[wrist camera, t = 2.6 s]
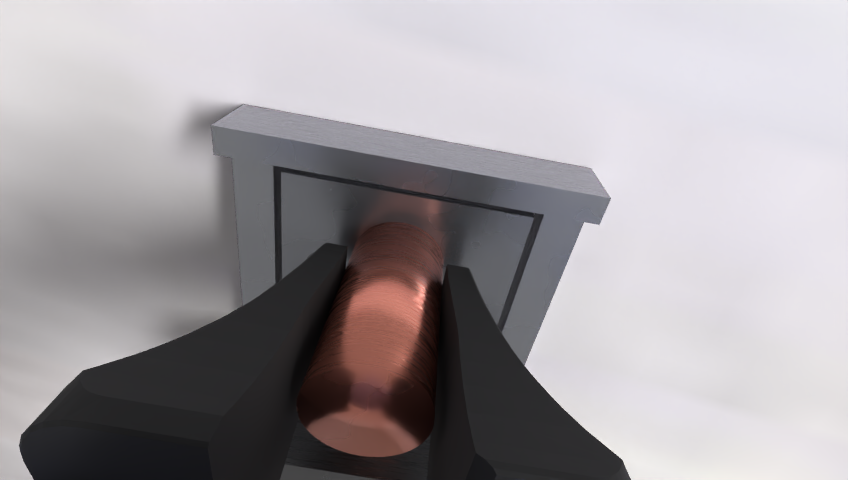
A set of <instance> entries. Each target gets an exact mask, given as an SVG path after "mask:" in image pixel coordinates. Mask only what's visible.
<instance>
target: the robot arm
mask: <svg viewBox="0 0 848 480" xmlns="http://www.w3.org/2000/svg"><path fill="white" fill-rule="evenodd" d="M347 249H348V246H343V245H337V244H332V243H325V244H323V245H322V246H321V247H320V248H319V249H317V250H316V251H315V252H314V253H313V254H312V255H311V256H309V257H308V258H307V259H306V260H305V261H304V262H302V263H301V264H300V265H299V266H298V267H297V268H295V269H294V270H293V271H291V272H290V273H289V274H288V275H286V276H285V277H284V278H283V279H281V280H280V281H279V282H277V283H276V284H275V285H273V286H272V287H270V288H269V289H267V290H266V291H265V292H263V293H262V294H260V295H259V296H258V297H256V298H255V299H253V300H251V301H250V302H248V303H247V304H245V305H243V306H242V307H240V308H238V309H237V310H235V311H233V312H232V313H230V314H228V315H226V316H224V317H223V318H221V319H219V320H216V321H214V322H212V323H210V324H208V325H206V326H204V327H202V328H200V329H198V330H196V331H193V332H191V333H189V334H187V335H185V336H182V337H180V338H177V339H175V340H173V341H170V342H168V343H165V344H163V345H160V346H157V347H155V348H152V349H149V350H147V351H144V352H141V353H138V354H135V355H132V356H129V357H126V358H123V359H119V360H116V361H113V362H110V363H107V364H103V365H100V366H97V367H94V368H90V369H87V370H83V371H82V372H81V373H80V374H79V375H78V376H77V377H76V378H75V379H74V380H73V381H72V382H71V383H69V384H68V385H67V386H66V387H65V388H64V389H63V390H62V392H61V393H60V394H59V395H58V396H57V397H56V398H55V399H54V400H53V401H52V402H51V404H50V405H49V406H48V407H47V408H46V409H45V410H44V411H43V412H42V413H41V414H40V415H39V417H38V418H37V419H36V420H35V421H34V422H33V423H32V424H31V425H30V426H29V427H28V428H27V429H26V431H25V432H24V433H23V434H22V435H21V439H20V444H19V447H20V452H21V455H22V458H23V461H24V463H25V465H26V466H27V468H28V470H29V472H30V474H31V475H32V477H33V479H34V480H280V478H281V474H282V471H283V468H284V464H285V461H286V458H287V454H288V451H289V448H290V445H291V441H292V438H293V435H294V432H295V429H296V426H297V422H298V419H299V416H298V413H297V408H296V402H297V397H298V394H299V391H300V388H301V386H302V383H303V380H304V378H305V375H306V373H307V370H308V367H309V365H310V362H311V359H312V357H313V354H314V352H315V349H316V346H317V344H318V341H319V338H320V336H321V333H322V330H323V328H324V325H325V323H326V320H327V317H328V315H329V312H330V309H331V307H332V304H333V301H334V299H335V296H336V294H337V291H338V288H339V286H340V283H341V280H342V278H343V275H344V273H345V270H346V260H347ZM427 480H631V479H630V477H629V475H628V472H627V470H626V468H625V465H624V463H623V461H622V459H621V458H619V457H618V456H617V455H616V454H614V453H613V452H612V451H611V450H610V449H608V448H607V447H606V446H605V445H603V444H602V443H601V442H600V441H599V440H597V439H596V438H595V437H594V436H593V435H591V434H590V433H589V432H588V431H586V430H585V429H584V428H583V427H582V426H581V425H580V424H579V423H578V422H577V421H576V420H575V419H573V418H572V417H571V416H570V415H569V414H568V413H567V412H566V411H565V410H564V409H563V408H562V407H561V406H560V405H559V404H558V403H557V402H556V401H555V400H554V399H553V398H552V397H551V396H550V395H549V394H548V393H547V391H546V390H545V389H544V388H543V387H542V386H541V385H540V384H539V383H538V382H537V380H536V379H535V378H534V377H533V376H532V375H531V373H530V372H529V371H528V370H527V369H526V367H525V366H524V365H523V363H522V362H521V361H520V359H519V358H518V357H517V355H516V354H515V352H514V351H513V349H512V348H511V347H510V345H509V344H508V342H507V340H506V339H505V337H504V336H503V334H502V332H501V331H500V329H499V328H498V326H497V324H496V322H495V321H494V319H493V317H492V315H491V313H490V311H489V310H488V308H487V306H486V304H485V302H484V300H483V298H482V296H481V294H480V291H479V289H478V287H477V285H476V283H475V280H474V278H473V275H472V273H471V271H470V269H469V268H467V267H462V266H456V265H450V264H447V267H446V271H445V275H444V279H443V284H442V293H441V312H440V330H439V347H438V365H437V383H436V400H435V418H434V426H433V429H432V432H431V438H430V449H429V460H428V471H427Z"/></svg>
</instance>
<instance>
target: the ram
mask: <svg viewBox="0 0 848 480" xmlns="http://www.w3.org/2000/svg"><path fill="white" fill-rule="evenodd" d="M533 220H534V216H533V213H532V212H527V211H521V210H516V209H510V208H505V207H499V206H494V205H488V204H483V203H477V202H472V201H466V200H461V199H455V198H450V197H444V196H439V195H433V194H428V193H422V192H417V191H411V190H406V189H400V188H395V187H389V186H384V185H378V184H373V183H367V182H361V181H356V180H350V179H345V178H339V177H334V176H328V175H323V174H317V173H312V172H306V171H301V170H295V169H290V168H284V169H283V170H282V172H281V227H282V279H283V278H284V277H285V276H286V275H288V274H289V273H290V272H291V271H293V270H294V269H295V268H297V267H298V266H299V265H300V264H301V263H302V262H304V261H305V260H306V259H307V258H308V257H309V256H311V255H312V254H313V253H314V252H315V251H316V250H317V249H319V248H320V247H321V246H322V245H323V244H325V243H332V244H337V245H343V246H348V249H347V260H346V270H345V273H344V275H343V278H342V280H341V283H340V286H339V288H338V291H337V294H336V296H335V299H334V301H333V304H332V307H331V309H330V312H329V315H328V317H327V320H326V323H325V325H324V328H323V330H322V333H321V336H320V338H319V341H318V344H317V346H316V349H315V352H314V354H313V357H312V359H311V362H310V365H309V367H308V370H307V373H306V375H305V378H304V380H303V383H302V386H301V388H300V391H299V394H298V397H297V402H296V408H297V413H298V416H299V419H298V422H297V426H296V429H295V432H294V435H293V438H292V441H291V445H290V448H289V451H288V454H287V458H286V461H285V464H284V468H283V471H282V474H281V478H280V480H427V471H428V460H429V449H430V438H431V432H432V429H433V426H434V418H435V400H436V383H437V365H438V347H439V330H440V312H441V293H442V284H443V279H444V275H445V271H446V267H447V264H450V265H456V266H462V267H467V268H469V269H470V271H471V273H472V275H473V278H474V280H475V283H476V285H477V287H478V289H479V291H480V294H481V296H482V298H483V300H484V302H485V304H486V306H487V308H488V310H489V311H490V313H491V315H492V317H493V319H494V321H495V322H496V324H497V325H498V322H499V319H500V316H501V313H502V310H503V307H504V304H505V301H506V298H507V296H508V293H509V290H510V287H511V284H512V281H513V278H514V275H515V272H516V269H517V266H518V264H519V261H520V258H521V255H522V252H523V249H524V246H525V243H526V240H527V237H528V234H529V232H530V229H531V226H532V223H533Z"/></svg>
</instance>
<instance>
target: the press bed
mask: <svg viewBox="0 0 848 480" xmlns="http://www.w3.org/2000/svg"><path fill="white" fill-rule="evenodd" d="M211 131H212V141H213V152H214V155H218V156H224V157H229V158H232V168H233V182H234V196H235V209H236V223H237V237H238V251H239V265H240V279H241V292H242V306H243V305H245V304H247V303H248V302H250V301H251V300H253V299H255V298H256V297H258V296H259V295H260V294H262V293H263V292H265V291H266V290H267V289H269V288H270V287H272V286H273V285H275V284H276V283H277V282H279V281H280V280H281V279H282V227H281V172H282V170H283V169H284V168H290V169H295V170H301V171H306V172H312V173H317V174H323V175H328V176H334V177H339V178H345V179H350V180H356V181H361V182H367V183H373V184H378V185H384V186H389V187H395V188H400V189H406V190H411V191H417V192H422V193H428V194H433V195H439V196H444V197H450V198H455V199H461V200H466V201H472V202H477V203H483V204H488V205H494V206H499V207H505V208H510V209H516V210H521V211H527V212H532V213H534V220H533V223H532V226H531V229H530V232H529V234H528V237H527V240H526V243H525V246H524V249H523V252H522V255H521V258H520V261H519V264H518V266H517V269H516V272H515V275H514V278H513V281H512V284H511V287H510V290H509V293H508V296H507V298H506V301H505V304H504V307H503V310H502V313H501V316H500V319H499V322H498V325H497V326H498V328H499V329H500V331H501V332H502V334H503V336H504V337H505V339H506V340H507V342H508V344H509V345H510V347H511V348H512V349H513V351H514V352H515V354H516V355H517V357H518V358H519V359H520V361H521V362H522V363H523V365H525V363H526V360H527V358H528V355H529V353H530V351H531V348H532V346H533V343H534V341H535V339H536V336H537V334H538V331H539V329H540V327H541V324H542V322H543V319H544V317H545V315H546V312H547V310H548V307H549V305H550V303H551V300H552V298H553V295H554V293H555V291H556V288H557V286H558V283H559V281H560V279H561V276H562V274H563V271H564V269H565V266H566V264H567V262H568V259H569V257H570V254H571V252H572V250H573V247H574V245H575V242H576V240H577V238H578V235H579V233H580V230H581V228H582V226H583V223H584V222H588V223H593V224H600V222H601V220H602V217H603V215H604V213H605V211H606V208H607V206H608V204H609V202H610V199H611V198H610V196H609V195H608V193H607V192H606V190H605V189H604V187H603V186H602V184H601V182H600V181H599V179H598V178H597V176H596V175H595V173H594V172H593V170H592V169H591V168H586V167H580V166H575V165H569V164H564V163H559V162H553V161H548V160H542V159H537V158H532V157H526V156H521V155H515V154H510V153H505V152H499V151H494V150H488V149H483V148H478V147H472V146H467V145H461V144H456V143H450V142H445V141H440V140H434V139H429V138H423V137H418V136H413V135H407V134H402V133H396V132H391V131H386V130H380V129H375V128H369V127H364V126H359V125H353V124H348V123H342V122H337V121H331V120H326V119H321V118H315V117H310V116H304V115H299V114H294V113H288V112H283V111H277V110H272V109H267V108H261V107H256V106H250V105H245V104H244V105H242V106H240V107H239V108H237V109H236V110H234V111H233V112H231V113H229V114H228V115H226V116H225V117H223V118H221V119H220V120H218V121H217V122H215V123H214V124H212V125H211Z"/></svg>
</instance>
